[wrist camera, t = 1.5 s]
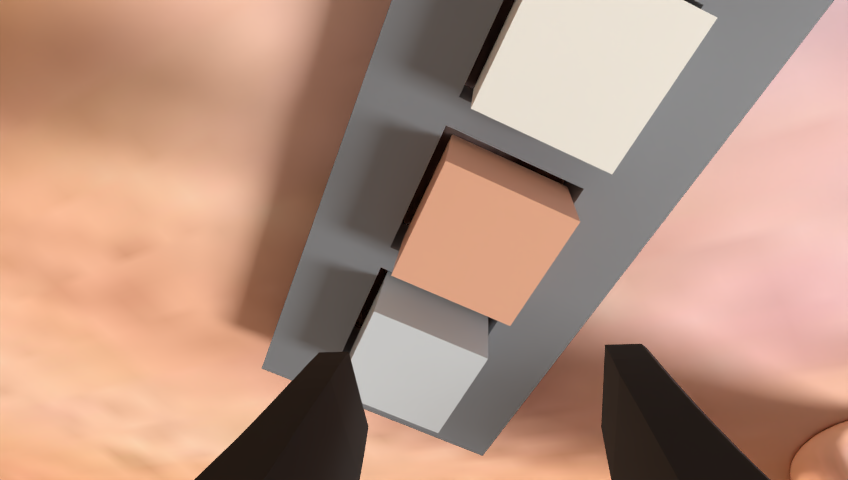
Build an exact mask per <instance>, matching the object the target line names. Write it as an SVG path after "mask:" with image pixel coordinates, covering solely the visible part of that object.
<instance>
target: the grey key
mask: <svg viewBox="0 0 848 480" xmlns="http://www.w3.org/2000/svg"><path fill="white" fill-rule="evenodd" d="M391 274H392V272H390V271H388V272H387V274H386V276H385V278H384V280H383V282H382V284H381V286H380V289H379V291H378V293H377V295H376V297H375V299H374V301H373V304H372V306H371V308H370V310H369V312H368V314H367V316H366V318H365V321H364V323H363V325H362V327H361V329H360V331H359V333H358V335H357V338H356V340H355V342H354V344H353V346H352V349H351V352H350V358H351V362H352V366H353V370H354V374H355V378H356V381H357V385H358V389H359V393H360V397H361V401H362V403H363V404H366V405H368V406H371V407H373V408H376V409H378V410H381V411H383V412H386V413H388V414H391V415H393V416H396V417H398V418H401V419H403V420H406V421H408V422H411V423H413V424H416V425H418V426H421V427H424V428H426V429H429V430H431V431H434V432H436V433H439V431H440V430H441V428H442V427H443V425H444V424H445V422H446V421H447V419H448V418H449V416H450V415H451V413H452V412H453V410H454V409H455V407H456V406H457V404H458V403H459V401H460V400H461V399H462V397H463V396H464V394H465V393H466V391H467V390H468V388H469V387H470V385H471V384H472V382H473V381H474V379H475V378H476V376H477V375H478V373H479V372H480V370H481V369H482V367H483V366H484V364H485V363H486V361H487V360H488V317H487V316H485V315H483V314H480V313H478V312H476V311H473V310H471V309H469V308H466V307H464V306H462V305H459V304H457V303H455V302H452V301H450V300H447V299H445V298H443V297H440V296H438V295H436V294H433V293H431V292H429V291H426V290H424V289H422V288H419V287H417V286H415V285H412V284H410V283H407V282H405V281H403V280H400V279H398V278H396V277H393V276H391Z"/></svg>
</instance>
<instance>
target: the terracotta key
mask: <svg viewBox="0 0 848 480" xmlns="http://www.w3.org/2000/svg"><path fill="white" fill-rule="evenodd" d="M579 223H580V219H579V217H578V214H577V211H576V209H575V206H574V203H573V201H572V198H571V195H570V192H569V190H568V187H566V186H564V185H562V184H560V183H558V182H555V181H553V180H551V179H549V178H547V177H545V176H542V175H540V174H538V173H536V172H534V171H532V170H529V169H527V168H525V167H523V166H521V165H518V164H516V163H514V162H512V161H510V160H508V159H505V158H503V157H501V156H499V155H497V154H495V153H492V152H490V151H488V150H486V149H484V148H481V147H479V146H477V145H475V144H473V143H471V142H468V141H466V140H464V139H462V138H460V137H458V136H455V135H453V134H452V135H451V137H450V140H449V142H448V144H447V146H446V148H445V150H444V152H443V154H442V157H441V159H440V161H439V163H438V165H437V167H436V169H435V172H434V174H433V176H432V178H431V180H430V182H429V184H428V186H427V189H426V191H425V193H424V195H423V197H422V199H421V201H420V203H419V206H418V208H417V210H416V212H415V214H414V216H413V218H412V220H411V223H410V225H409V227H408V229H407V231H406V233H405V235H404V238H403V241H402V244H401V247H400V250H399V253H398V256H397V259H396V262H395V265H394V268H393V271H392V274H391V276H393V277H396V278H398V279H400V280H403V281H405V282H407V283H410V284H412V285H415V286H417V287H419V288H422V289H424V290H426V291H429V292H431V293H433V294H436V295H438V296H440V297H443V298H445V299H447V300H450V301H452V302H455V303H457V304H459V305H462V306H464V307H466V308H469V309H471V310H473V311H476V312H478V313H480V314H483V315H485V316H487V317H490V318H492V319H495V320H497V321H499V322H502V323H504V324H506V325H509V326H511V324H512V323H513V321H514V320H515V318H516V317H517V315H518V314H519V312H520V311H521V309H522V308H523V306H524V305H525V303H526V302H527V300H528V299H529V297H530V296H531V294H532V293H533V291H534V290H535V289H536V287H537V286H538V284H539V283H540V281H541V280H542V278H543V277H544V275H545V274H546V272H547V271H548V269H549V268H550V266H551V265H552V263H553V262H554V260H555V259H556V257H557V256H558V254H559V253H560V251H561V250H562V248H563V247H564V245H565V244H566V242H567V241H568V239H569V238H570V236H571V235H572V234H573V232H574V231H575V229H576V228H577V226H578V225H579Z"/></svg>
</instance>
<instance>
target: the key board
mask: <svg viewBox="0 0 848 480" xmlns="http://www.w3.org/2000/svg"><path fill="white" fill-rule="evenodd" d="M684 1H686V2H688V3H690V4H692V5H694V6H696V7H698V8H700V9H702V10H704V11H706V12H708V13H709V14H711V15H713V16H715V17H717V19H716V21H715V22H714V24H713V25H712V27H711V28H710V30H709V31H708V33H707V34H706V36H705V37H704V39H703V40H702V42H701V43H700V45H699V46H698V48H697V49H696V51H695V52H694V54H693V55H692V57H691V58H690V60H689V61H688V63H687V64H686V66H685V67H684V69H683V70H682V71H681V73H680V74H679V76H678V77H677V79H676V80H675V82H674V83H673V85H672V86H671V88H670V89H669V91H668V92H667V94H666V95H665V97H664V98H663V100H662V101H661V103H660V104H659V106H658V107H657V109H656V110H655V112H654V113H653V115H652V116H651V118H650V119H649V121H648V122H647V124H646V125H645V126H644V128H643V129H642V131H641V132H640V134H639V135H638V137H637V138H636V140H635V141H634V143H633V144H632V146H631V147H630V149H629V150H628V152H627V153H626V155H625V156H624V158H623V159H622V161H621V162H620V164H619V165H618V167H617V168H616V170H615V171H614V173H613V174H610V173H608V172H606V171H604V170H601V169H599V168H597V167H595V166H593V165H591V164H589V163H586V162H584V161H582V160H580V159H578V158H576V157H574V156H571V155H569V154H567V153H565V152H563V151H561V150H559V149H556V148H554V147H552V146H550V145H548V144H546V143H544V142H541V141H539V140H537V139H535V138H533V137H531V136H529V135H526V134H524V133H522V132H520V131H518V130H516V129H514V128H511V127H509V126H507V125H505V124H503V123H501V122H499V121H496V120H494V119H492V118H490V117H488V116H486V115H484V114H481V113H479V112H477V111H475V110H473V109H471V103H472V96H473V89H472V88H470V87H468V86H466V85H465V83H466V81H467V79H468V76H469V74H470V72H471V70H472V68H473V66H474V63H475V61H476V59H477V57H478V55H479V52H480V50H481V48H482V46H483V44H484V42H485V39H486V37H487V35H488V33H489V31H490V29H491V26H492V24H493V22H494V20H495V18H496V15H497V13H498V11H499V9H500V7H501V5H502V2H503V0H392V1H391V4H390V7H389V9H388V12H387V15H386V18H385V21H384V24H383V26H382V29H381V32H380V35H379V38H378V41H377V43H376V46H375V49H374V52H373V55H372V58H371V60H370V63H369V66H368V69H367V72H366V75H365V77H364V80H363V83H362V86H361V89H360V92H359V94H358V97H357V100H356V103H355V106H354V109H353V111H352V114H351V117H350V120H349V123H348V126H347V128H346V131H345V134H344V137H343V140H342V143H341V145H340V148H339V151H338V154H337V157H336V160H335V162H334V165H333V168H332V171H331V174H330V177H329V179H328V182H327V185H326V188H325V191H324V194H323V196H322V199H321V202H320V205H319V208H318V211H317V213H316V216H315V219H314V222H313V225H312V228H311V230H310V233H309V236H308V239H307V242H306V245H305V247H304V250H303V253H302V256H301V259H300V262H299V264H298V267H297V270H296V273H295V276H294V279H293V281H292V284H291V287H290V290H289V293H288V296H287V298H286V301H285V304H284V307H283V310H282V313H281V315H280V318H279V321H278V324H277V327H276V330H275V332H274V335H273V338H272V341H271V344H270V347H269V349H268V352H267V355H266V358H265V361H264V364H263V366H262V369H265V370H267V371H270V372H272V373H275V374H277V375H280V376H282V377H285V378H287V379H290V380H293V379H294V378H295V377H296V376H297V375H298V374H299V373H300V372H301V371H302V370H303V369H304V368H305V366H306V365H307V364H308V363H309V362H310V361H311V360H312V359H313V358H314V357H315V356H316V355H317V354H318V353H319V352H349V354H350V352H351V349H352V346H353V344H354V342H355V340H356V338H357V335H358V333H359V331H360V328H358V327H355V326H354V325H355V323H356V321H357V318H358V316H359V314H360V312H361V310H362V307H363V305H364V303H365V301H366V299H367V297H368V294H369V292H370V290H371V288H372V286H373V284H374V281H375V279H376V277H377V275H378V273H379V270H380V268H383V269H385V270H388V271H390V272H392V271H393V268H394V265H395V262H396V259H397V256H398V253H399V250H400V247H401V244H402V241H403V238H404V235H405V233H406V231H407V229H408V227H409V225H406V224H404V223H402V220H403V218H404V216H405V214H406V212H407V209H408V207H409V205H410V203H411V201H412V199H413V196H414V194H415V192H416V190H417V188H418V185H419V183H420V181H421V179H422V177H423V175H424V172H425V170H426V168H427V166H428V164H429V161H430V159H431V157H432V155H433V153H434V151H435V148H436V146H437V144H438V142H439V140H440V137H441V135H442V133H443V131H444V129H445V127H446V126H448V127H450V128H453V129H455V130H457V131H459V132H461V133H463V134H466V135H468V136H470V137H472V138H474V139H476V140H479V141H481V142H483V143H485V144H487V145H490V146H492V147H494V148H496V149H498V150H500V151H503V152H505V153H507V154H509V155H511V156H513V157H516V158H518V159H520V160H522V161H524V162H526V163H529V164H531V165H533V166H535V167H537V168H539V169H542V170H544V171H546V172H548V173H550V174H552V175H555V176H557V177H559V178H561V179H563V180H565V182H564V183H563V185H564V186H566V187H568V190H569V192H570V195H571V198H572V201H573V203H574V206H575V209H576V211H577V214H578V217H579V219H580V223H579V225H578V226H577V228H576V229H575V231H574V232H573V234H572V235H571V236H570V238H569V239H568V241H567V242H566V244H565V245H564V247H563V248H562V250H561V251H560V253H559V254H558V256H557V257H556V259H555V260H554V262H553V263H552V265H551V266H550V268H549V269H548V271H547V272H546V274H545V275H544V277H543V278H542V280H541V281H540V283H539V284H538V286H537V287H536V289H535V290H534V291H533V293H532V294H531V296H530V297H529V299H528V300H527V302H526V303H525V305H524V306H523V308H522V309H521V311H520V312H519V314H518V315H517V317H516V318H515V320H514V321H513V323H512V324H511V326H509V325H506V324H504V323H502V322H499V321H497V320H495V319H492V318H490V317H488V360H487V361H486V363H485V364H484V366H483V367H482V369H481V370H480V372H479V373H478V375H477V376H476V378H475V379H474V381H473V382H472V384H471V385H470V387H469V388H468V390H467V391H466V393H465V394H464V396H463V397H462V399H461V400H460V401H459V403H458V404H457V406H456V407H455V409H454V410H453V412H452V413H451V415H450V416H449V418H448V419H447V421H446V422H445V424H444V425H443V427H442V428H441V430H440V431H439V433H436V432H434V431H431V430H429V429H426V428H424V427H421V426H418V425H416V424H413V423H411V422H408V421H406V420H403V419H401V418H398V417H396V416H393V415H391V414H388V413H386V412H383V411H381V410H378V409H376V408H373V407H371V406H368V405H366V404H363V403H362V405H363V408H364V409H366V410H368V411H371V412H373V413H376V414H378V415H381V416H383V417H386V418H388V419H391V420H393V421H396V422H399V423H401V424H404V425H406V426H409V427H411V428H414V429H416V430H419V431H421V432H424V433H426V434H429V435H431V436H434V437H436V438H439V439H441V440H444V441H447V442H449V443H452V444H454V445H457V446H459V447H462V448H464V449H467V450H469V451H472V452H474V453H477V454H479V455H482V456H483V455H484V453H485V452H486V451H487V449H488V448H489V447H490V446H491V444H492V443H493V442H494V440H495V439H496V438H497V436H498V435H499V434H500V433H501V431H502V430H503V429H504V427H505V426H506V425H507V423H508V422H509V421H510V420H511V418H512V417H513V416H514V414H515V413H516V412H517V411H518V409H519V408H520V407H521V405H522V404H523V403H524V401H525V400H526V399H527V398H528V396H529V395H530V394H531V392H532V391H533V390H534V389H535V387H536V386H537V385H538V383H539V382H540V381H541V379H542V378H543V377H544V376H545V374H546V373H547V372H548V370H549V369H550V368H551V366H552V365H553V364H554V363H555V361H556V360H557V359H558V357H559V356H560V355H561V354H562V352H563V351H564V350H565V348H566V347H567V346H568V344H569V343H570V342H571V341H572V339H573V338H574V337H575V335H576V334H577V333H578V332H579V330H580V329H581V328H582V326H583V325H584V324H585V322H586V321H587V320H588V319H589V317H590V316H591V315H592V313H593V312H594V311H595V309H596V308H597V307H598V306H599V304H600V303H601V302H602V300H603V299H604V298H605V297H606V295H607V294H608V293H609V291H610V290H611V289H612V287H613V286H614V285H615V284H616V282H617V281H618V280H619V278H620V277H621V276H622V275H623V273H624V272H625V271H626V269H627V268H628V267H629V265H630V264H631V263H632V262H633V260H634V259H635V258H636V256H637V255H638V254H639V252H640V251H641V250H642V249H643V247H644V246H645V245H646V243H647V242H648V241H649V240H650V238H651V237H652V236H653V234H654V233H655V232H656V230H657V229H658V228H659V227H660V225H661V224H662V223H663V221H664V220H665V219H666V218H667V216H668V215H669V214H670V212H671V211H672V210H673V208H674V207H675V206H676V205H677V203H678V202H679V201H680V199H681V198H682V197H683V195H684V194H685V193H686V192H687V190H688V189H689V188H690V186H691V185H692V184H693V183H694V181H695V180H696V179H697V177H698V176H699V175H700V173H701V172H702V171H703V170H704V168H705V167H706V166H707V164H708V163H709V162H710V161H711V159H712V158H713V157H714V155H715V154H716V153H717V151H718V150H719V149H720V148H721V146H722V145H723V144H724V142H725V141H726V140H727V138H728V137H729V136H730V135H731V133H732V132H733V131H734V129H735V128H736V127H737V126H738V124H739V123H740V122H741V120H742V119H743V118H744V116H745V115H746V114H747V113H748V111H749V110H750V109H751V107H752V106H753V105H754V104H755V102H756V101H757V100H758V98H759V97H760V96H761V94H762V93H763V92H764V91H765V89H766V88H767V87H768V85H769V84H770V83H771V81H772V80H773V79H774V78H775V76H776V75H777V74H778V72H779V71H780V70H781V69H782V67H783V66H784V65H785V63H786V62H787V61H788V59H789V58H790V57H791V56H792V54H793V53H794V52H795V50H796V49H797V48H798V47H799V45H800V44H801V43H802V41H803V40H804V39H805V37H806V36H807V35H808V34H809V32H810V31H811V30H812V28H813V27H814V26H815V24H816V23H817V22H818V21H819V19H820V18H821V17H822V15H823V14H824V13H825V12H826V10H827V9H828V8H829V6H830V5H831V4H832V2H833V1H834V0H684Z"/></svg>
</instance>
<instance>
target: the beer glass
mask: <svg viewBox="0 0 848 480" xmlns="http://www.w3.org/2000/svg"><path fill="white" fill-rule="evenodd" d="M790 478H791V480H848V421H845V422H842V423H839V424H837V425H834V426H832V427H830V428H828V429H826V430H824V431H822V432H820V433H818V434H817V435H815V436H814V437H812V438H811V439H810V440H808V441H807V442H806V443H805V444H804V445H803V446H802V447H801V448H800V449H799V451H798V452H797V453H796V455H795V457H794V459H793V461H792V463H791V467H790Z"/></svg>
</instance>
